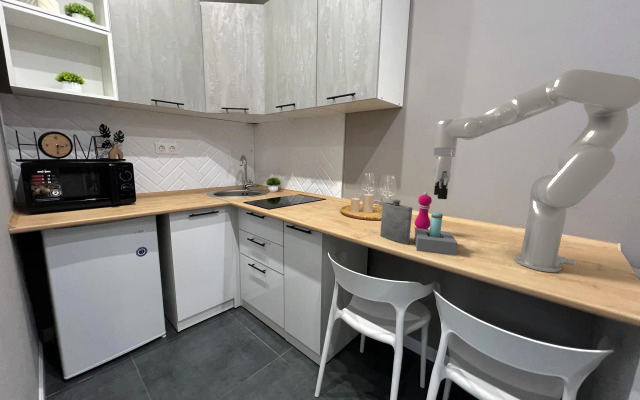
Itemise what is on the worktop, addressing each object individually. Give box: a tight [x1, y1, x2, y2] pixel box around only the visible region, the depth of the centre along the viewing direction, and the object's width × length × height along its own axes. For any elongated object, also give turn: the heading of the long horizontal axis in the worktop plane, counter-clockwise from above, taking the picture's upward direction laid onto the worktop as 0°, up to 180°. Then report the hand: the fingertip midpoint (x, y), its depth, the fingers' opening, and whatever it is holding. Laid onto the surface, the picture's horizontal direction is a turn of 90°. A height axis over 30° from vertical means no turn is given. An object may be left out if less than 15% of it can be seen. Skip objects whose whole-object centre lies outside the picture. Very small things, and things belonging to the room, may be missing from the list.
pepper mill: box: [414, 191, 433, 230], centre depth 121 cm, size 7×7×20 cm
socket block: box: [413, 227, 458, 256], centre depth 104 cm, size 14×14×5 cm
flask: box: [379, 199, 413, 246], centre depth 109 cm, size 4×14×18 cm, turn 39°
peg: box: [429, 212, 444, 238], centre depth 103 cm, size 4×4×14 cm
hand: (439, 196), depth 100 cm, fingers open, 9 cm apart
